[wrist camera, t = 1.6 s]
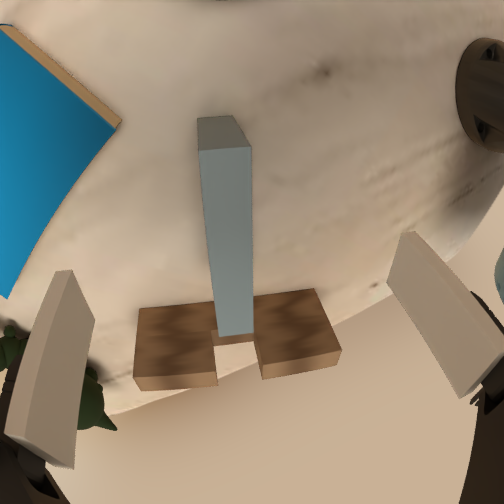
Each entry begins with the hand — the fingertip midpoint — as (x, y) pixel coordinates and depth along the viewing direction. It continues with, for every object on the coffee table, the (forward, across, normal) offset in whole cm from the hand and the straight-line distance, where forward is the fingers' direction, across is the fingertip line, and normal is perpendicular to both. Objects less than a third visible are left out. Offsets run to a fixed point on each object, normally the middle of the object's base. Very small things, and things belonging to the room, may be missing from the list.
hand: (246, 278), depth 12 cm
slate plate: (+18, 0, +6) cm, 19 cm away
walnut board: (+18, 0, +20) cm, 27 cm away
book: (+19, +23, -2) cm, 30 cm away
